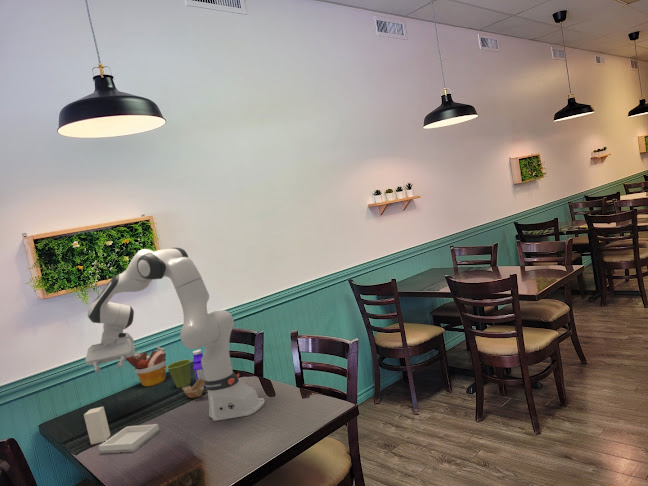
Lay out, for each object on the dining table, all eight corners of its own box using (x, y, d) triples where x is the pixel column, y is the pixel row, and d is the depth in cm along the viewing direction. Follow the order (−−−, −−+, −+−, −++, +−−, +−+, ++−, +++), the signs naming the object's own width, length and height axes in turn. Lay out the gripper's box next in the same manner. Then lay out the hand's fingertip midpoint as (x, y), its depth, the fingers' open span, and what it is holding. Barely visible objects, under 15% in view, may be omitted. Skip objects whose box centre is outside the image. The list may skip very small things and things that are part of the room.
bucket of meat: (163, 375, 272) (154, 340, 270) (178, 377, 260) (169, 341, 259) (128, 389, 257) (120, 352, 256) (143, 392, 246) (134, 354, 245)
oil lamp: (196, 403, 211) (190, 381, 210) (177, 396, 227) (172, 375, 227) (213, 395, 216) (208, 374, 216) (194, 389, 233) (189, 368, 232)
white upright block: (110, 435, 195) (103, 406, 194) (105, 441, 189) (97, 411, 188) (96, 438, 194) (89, 409, 194) (91, 444, 189) (83, 414, 188)
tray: (159, 431, 187) (158, 423, 187) (133, 451, 173) (131, 443, 173) (128, 433, 192) (126, 426, 192) (100, 453, 177) (98, 445, 177)
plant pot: (171, 385, 246) (166, 364, 246) (195, 378, 250) (190, 357, 249) (171, 392, 235) (165, 370, 234) (196, 385, 238) (190, 362, 238)
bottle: (207, 388, 230) (199, 352, 229) (196, 389, 231) (188, 354, 230) (213, 382, 237) (205, 347, 236) (203, 383, 238) (195, 349, 237)
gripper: (85, 342, 213) (80, 371, 204) (131, 332, 214) (129, 360, 205) (91, 349, 218) (87, 377, 208) (137, 339, 218) (135, 367, 209)
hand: (108, 369), depth 207 cm, fingers open, 8 cm apart
